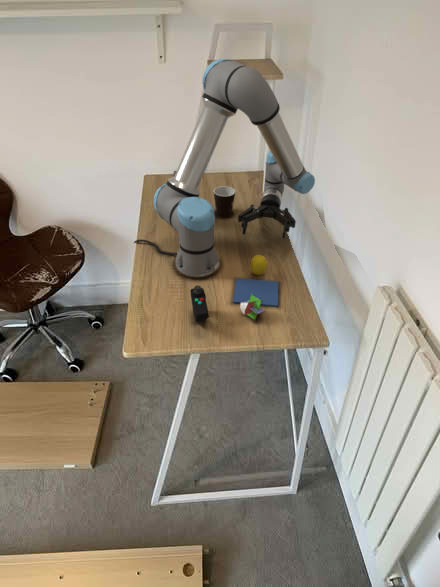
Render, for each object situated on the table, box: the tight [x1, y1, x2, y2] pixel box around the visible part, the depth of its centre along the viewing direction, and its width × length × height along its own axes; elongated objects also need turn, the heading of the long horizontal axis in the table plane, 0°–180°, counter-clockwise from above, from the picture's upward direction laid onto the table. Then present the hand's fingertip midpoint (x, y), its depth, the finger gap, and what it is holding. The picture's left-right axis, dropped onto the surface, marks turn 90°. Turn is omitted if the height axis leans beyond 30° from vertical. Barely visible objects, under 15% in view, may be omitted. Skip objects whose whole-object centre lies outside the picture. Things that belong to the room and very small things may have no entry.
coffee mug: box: [213, 185, 236, 218], centre depth 176 cm, size 12×9×10 cm
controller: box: [190, 285, 210, 324], centre depth 127 cm, size 4×12×10 cm, turn 10°
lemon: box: [249, 254, 268, 276], centre depth 145 cm, size 6×6×8 cm
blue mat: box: [232, 277, 279, 308], centre depth 140 cm, size 14×12×1 cm
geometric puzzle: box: [239, 294, 266, 321], centre depth 130 cm, size 7×7×8 cm
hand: (263, 233), depth 148 cm, fingers open, 13 cm apart
